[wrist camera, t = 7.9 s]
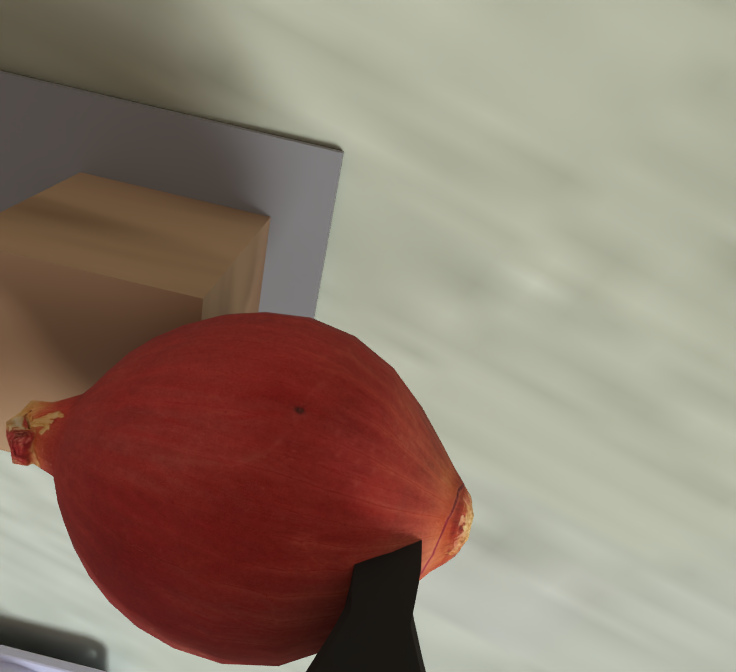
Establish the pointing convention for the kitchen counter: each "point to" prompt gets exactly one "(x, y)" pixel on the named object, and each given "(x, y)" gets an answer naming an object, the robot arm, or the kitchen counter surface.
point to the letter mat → (177, 170)
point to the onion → (244, 481)
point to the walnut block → (112, 280)
